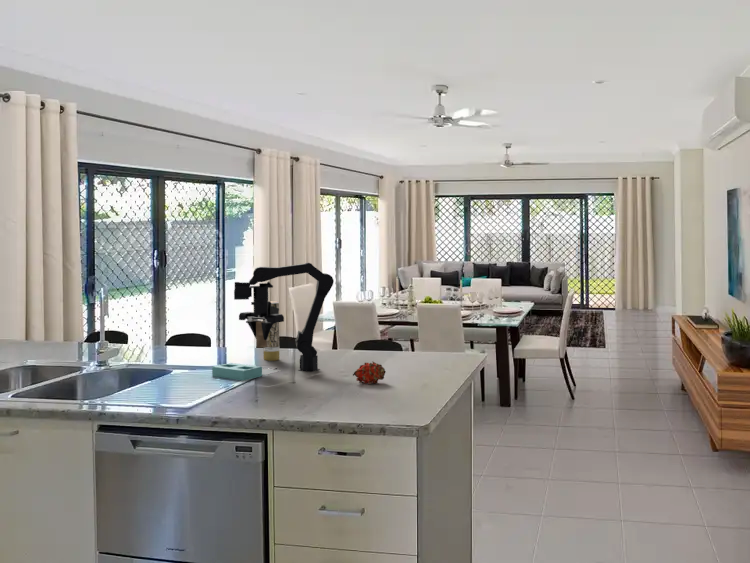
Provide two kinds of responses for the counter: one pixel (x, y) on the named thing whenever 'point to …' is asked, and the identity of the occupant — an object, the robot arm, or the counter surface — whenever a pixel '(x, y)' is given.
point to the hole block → (237, 371)
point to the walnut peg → (260, 336)
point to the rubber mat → (268, 371)
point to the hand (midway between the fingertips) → (261, 339)
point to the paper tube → (272, 340)
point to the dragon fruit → (370, 373)
